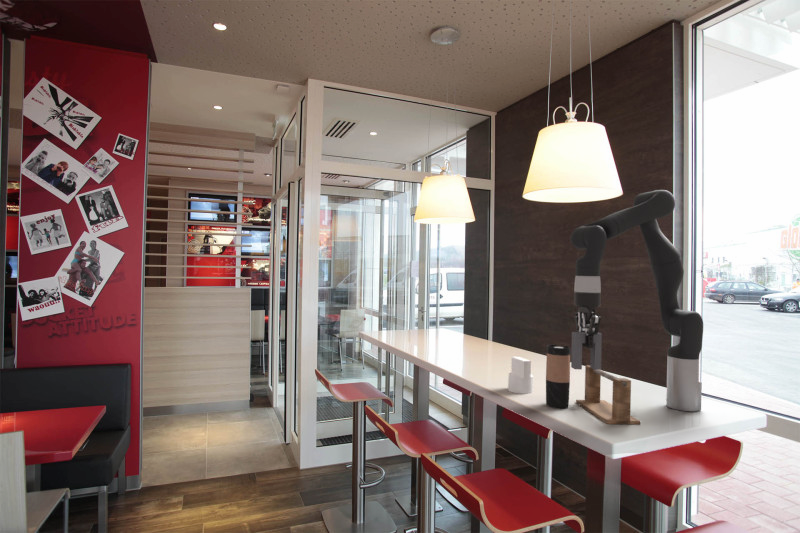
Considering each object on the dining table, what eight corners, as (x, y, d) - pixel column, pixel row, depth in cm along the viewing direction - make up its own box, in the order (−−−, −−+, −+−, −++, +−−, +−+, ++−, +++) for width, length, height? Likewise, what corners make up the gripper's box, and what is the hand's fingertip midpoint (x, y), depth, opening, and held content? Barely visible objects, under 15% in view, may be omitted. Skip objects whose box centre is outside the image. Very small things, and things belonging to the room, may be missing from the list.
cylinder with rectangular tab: (503, 388, 175) (504, 357, 175) (523, 387, 178) (524, 356, 178) (516, 394, 167) (517, 361, 167) (537, 393, 169) (538, 360, 170)
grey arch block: (596, 367, 141) (597, 332, 142) (601, 369, 138) (601, 333, 139) (571, 367, 141) (571, 331, 141) (575, 369, 138) (575, 333, 138)
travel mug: (553, 409, 149) (555, 348, 149) (540, 403, 156) (542, 344, 156) (574, 408, 151) (575, 348, 151) (560, 401, 158) (561, 344, 158)
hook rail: (604, 403, 158) (605, 365, 158) (639, 424, 136) (640, 380, 136) (576, 402, 158) (576, 365, 158) (607, 423, 136) (608, 380, 136)
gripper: (610, 292, 133) (609, 351, 133) (589, 290, 147) (588, 343, 147) (585, 291, 133) (584, 350, 133) (566, 289, 147) (565, 343, 147)
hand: (586, 346), depth 140 cm, fingers closed on grey arch block, 3 cm apart
